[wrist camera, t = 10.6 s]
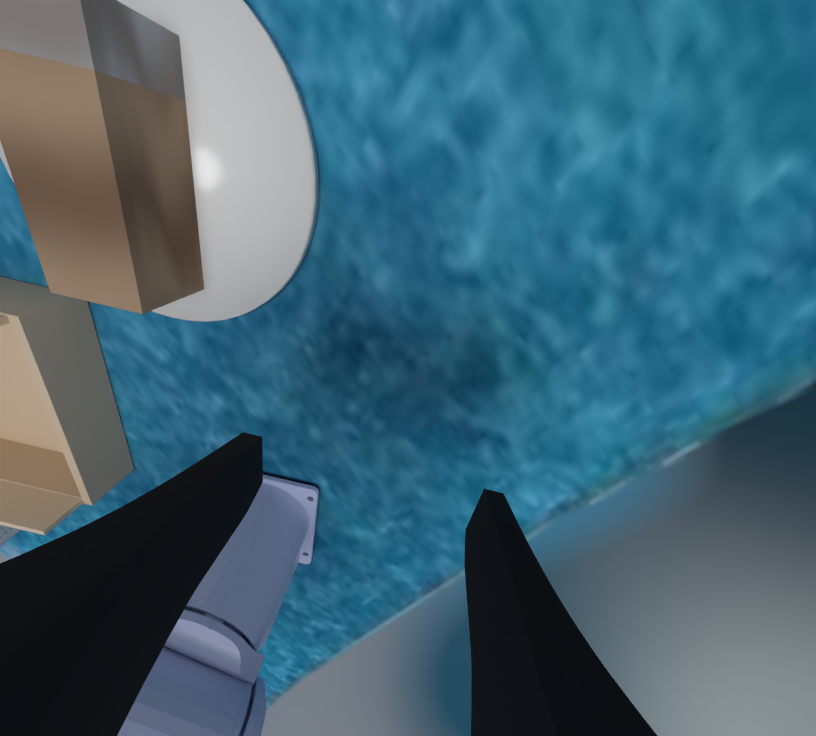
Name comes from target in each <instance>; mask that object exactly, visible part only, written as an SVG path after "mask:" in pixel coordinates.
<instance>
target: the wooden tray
mask: <svg viewBox="0 0 816 736" xmlns="http://www.w3.org/2000/svg"><path fill="white" fill-rule="evenodd" d="M133 469H134V466H133V463H132V459H131V455H130V452H129V448H128V445H127V441H126V438H125V434H124V430H123V427H122V423H121V420H120V416H119V412H118V409H117V405H116V402H115V398H114V394H113V391H112V387H111V384H110V380H109V377H108V373H107V369H106V366H105V362H104V359H103V355H102V351H101V348H100V344H99V341H98V337H97V333H96V330H95V326H94V323H93V319H92V316H91V312H90V308H89V305H88V301H85V300H80V299H76V298H72V297H68V296H63V295H59V294H55V293H51V292H50V289H49V288H47V287H43V286H39V285H34V284H30V283H26V282H22V281H17V280H13V279H9V278H4V277H0V525H3V526H8V527H12V528H16V529H20V530H25V531H29V532H33V533H37V534H42V535H46V534H47V533H49V532H50V531H51V530H52V529H53V528H55V527H56V526H57V525H58V524H59V523H60V522H62V521H63V520H64V519H65V518H66V517H67V516H69V515H70V514H71V513H72V512H73V511H75V510H76V509H77V508H78V507H79V506H80V505H82V504H88V505H92V506H93V505H94V504H95V503H96V502H97V501H98V500H99V499H100V498H102V497H103V496H104V495H105V494H106V493H107V492H108V491H110V490H111V489H112V488H113V487H114V486H115V485H116V484H118V483H119V482H120V481H121V480H122V479H123V478H124V477H125V476H127V475H128V474H129V473H130V472H131V471H132V470H133Z"/></svg>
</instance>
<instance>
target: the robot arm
mask: <svg viewBox="0 0 816 736" xmlns="http://www.w3.org/2000/svg"><path fill="white" fill-rule="evenodd" d="M318 498H319V490H318V489H317V488H316V487H314V486H311V485H306V484H302V483H298V482H294V481H289V480H285V479H281V478H277V477H272V476H268V475H264V474H263V459H262V437H260V436H256V435H252V434H248V433H242V434H240V435H239V436H237V437H235V438H234V439H232V440H231V441H229V442H228V443H226V444H225V445H223V446H222V447H220V448H219V449H217V450H215V451H214V452H212V453H211V454H209V455H208V456H206V457H205V458H203V459H202V460H200V461H199V462H197V463H195V464H194V465H192V466H191V467H189V468H187V469H186V470H184V471H183V472H181V473H179V474H178V475H176V476H175V477H173V478H171V479H170V480H168V481H166V482H165V483H163V484H161V485H159V486H158V487H156V488H154V489H153V490H151V491H149V492H147V493H146V494H144V495H142V496H140V497H139V498H137V499H135V500H133V501H132V502H130V503H128V504H126V505H124V506H122V507H121V508H119V509H117V510H115V511H113V512H111V513H109V514H107V515H105V516H103V517H101V518H99V519H97V520H95V521H93V522H91V523H89V524H87V525H85V526H83V527H81V528H79V529H77V530H75V531H73V532H71V533H69V534H66V535H64V536H62V537H60V538H57V539H55V540H53V541H51V542H49V543H46V544H44V545H42V546H40V547H37V548H35V549H33V550H31V551H28V552H26V553H24V554H22V555H20V556H17V557H15V558H13V559H10V560H8V561H5V562H3V563H1V564H0V736H261V732H262V728H263V724H264V719H265V713H266V696H265V683H264V680H263V679H262V678H261V677H259V676H257V675H258V672H259V670H260V667H261V665H262V662H263V660H264V655H262V654H260V653H258V651H259V650H260V648H261V647H262V646H263V644H264V643H265V641H266V639H267V637H268V635H269V633H270V631H271V628H272V626H273V624H274V621H275V619H276V616H277V614H278V611H279V609H280V606H281V604H282V602H283V599H284V597H285V594H286V592H287V589H288V587H289V584H290V582H291V580H292V577H293V575H294V572H295V570H296V567H297V565H298V563H303V564H310V563H311V560H312V556H313V546H314V537H315V527H316V517H317V508H318ZM465 576H466V589H467V603H468V615H469V629H470V642H471V659H472V660H471V661H472V715H471V716H472V717H471V719H472V720H471V736H657V735H656V734H655V733H654V731H653V730H652V728H651V727H650V726H649V725H648V723H647V722H646V721H645V720H644V718H643V717H642V716H641V714H640V713H639V712H638V711H637V709H636V708H635V707H634V705H633V704H632V703H631V701H630V700H629V699H628V697H627V696H626V695H625V693H624V692H623V691H622V690H621V688H620V687H619V686H618V684H617V683H616V682H615V680H614V679H613V678H612V676H611V675H610V674H609V673H608V671H607V670H606V668H605V667H604V666H603V664H602V663H601V661H600V660H599V658H598V657H597V656H596V654H595V653H594V651H593V650H592V648H591V647H590V646H589V644H588V643H587V641H586V640H585V638H584V637H583V635H582V634H581V632H580V631H579V629H578V628H577V626H576V625H575V623H574V621H573V620H572V618H571V617H570V615H569V614H568V612H567V610H566V609H565V607H564V606H563V604H562V602H561V601H560V599H559V597H558V596H557V594H556V592H555V591H554V589H553V588H552V586H551V584H550V582H549V581H548V579H547V577H546V575H545V573H544V572H543V570H542V568H541V566H540V564H539V563H538V561H537V559H536V557H535V555H534V553H533V551H532V550H531V548H530V546H529V544H528V542H527V540H526V538H525V536H524V534H523V532H522V530H521V528H520V526H519V524H518V522H517V520H516V518H515V516H514V514H513V512H512V510H511V508H510V506H509V504H508V502H507V500H506V498H505V496H504V494H503V493H499V492H495V491H491V490H486V489H484V490H483V493H482V495H481V497H480V499H479V501H478V504H477V506H476V508H475V510H474V512H473V515H472V517H471V519H470V521H469V524H468V526H467V528H466V536H465Z"/></svg>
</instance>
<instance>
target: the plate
mask: <svg viewBox="0 0 816 736" xmlns="http://www.w3.org/2000/svg"><path fill="white" fill-rule="evenodd" d="M117 1H119V2H121V3H122V4H124V5H126V6H128V7H129V8H131V9H133V10H135V11H136V12H138V13H140V14H142V15H143V16H145V17H147V18H149V19H150V20H152V21H154V22H156V23H157V24H159V25H161V26H163V27H164V28H166V29H168V30H170V31H171V32H173V33H175V34H177V35H178V36H179V40H180V50H181V60H182V70H183V80H184V90H185V100H186V110H187V120H188V130H189V140H190V151H191V161H192V171H193V181H194V191H195V201H196V211H197V221H198V231H199V241H200V251H201V261H202V271H203V281H204V290H201V291H199V292H196V293H194V294H192V295H189V296H187V297H184V298H182V299H179V300H177V301H174V302H172V303H169V304H167V305H164V306H162V307H159V308H157V309H154V310H152V311H153V312H156V313H159V314H162V315H166V316H169V317H172V318H177V319H183V320H189V321H218V320H225V319H229V318H233V317H237V316H240V315H243V314H245V313H247V312H250V311H252V310H254V309H255V308H257V307H259V306H260V305H262V304H264V303H265V302H267V301H268V300H270V299H272V298H273V297H274V296H275V295H276V294H278V293H279V292H280V291H281V290H282V289H283V288H284V287H285V286H286V285H287V284H288V283H289V281H290V280H291V279H292V278H293V276H294V275H295V274H296V272H297V270H298V269H299V267H300V265H301V264H302V262H303V260H304V258H305V256H306V253H307V251H308V248H309V246H310V243H311V240H312V236H313V232H314V228H315V225H316V219H317V211H318V203H319V172H318V163H317V153H316V147H315V143H314V138H313V133H312V128H311V124H310V121H309V117H308V114H307V111H306V108H305V105H304V102H303V99H302V96H301V93H300V91H299V89H298V86H297V84H296V82H295V79H294V77H293V75H292V73H291V70H290V68H289V66H288V64H287V62H286V61H285V59H284V57H283V55H282V53H281V52H280V50H279V48H278V46H277V44H276V43H275V41H274V39H273V38H272V36H271V35H270V33H269V32H268V30H267V29H266V28H265V26H264V25H263V23H262V22H261V20H260V19H259V18H258V16H257V15H256V13H255V12H254V11H253V10H252V9H251V7H250V6H249V5H248V4H247V3H246V2H245V0H117ZM0 157H1V159H2V161H3V163H4V165H5V167H6V169H7V171H8V173H9V175H10V177H11V179H12V181H13V182H14V180H13V177H12V174H11V171H10V168H9V165H8V162H7V159H6V156H5V153H4V150H3V147H2V144H1V141H0Z"/></svg>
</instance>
